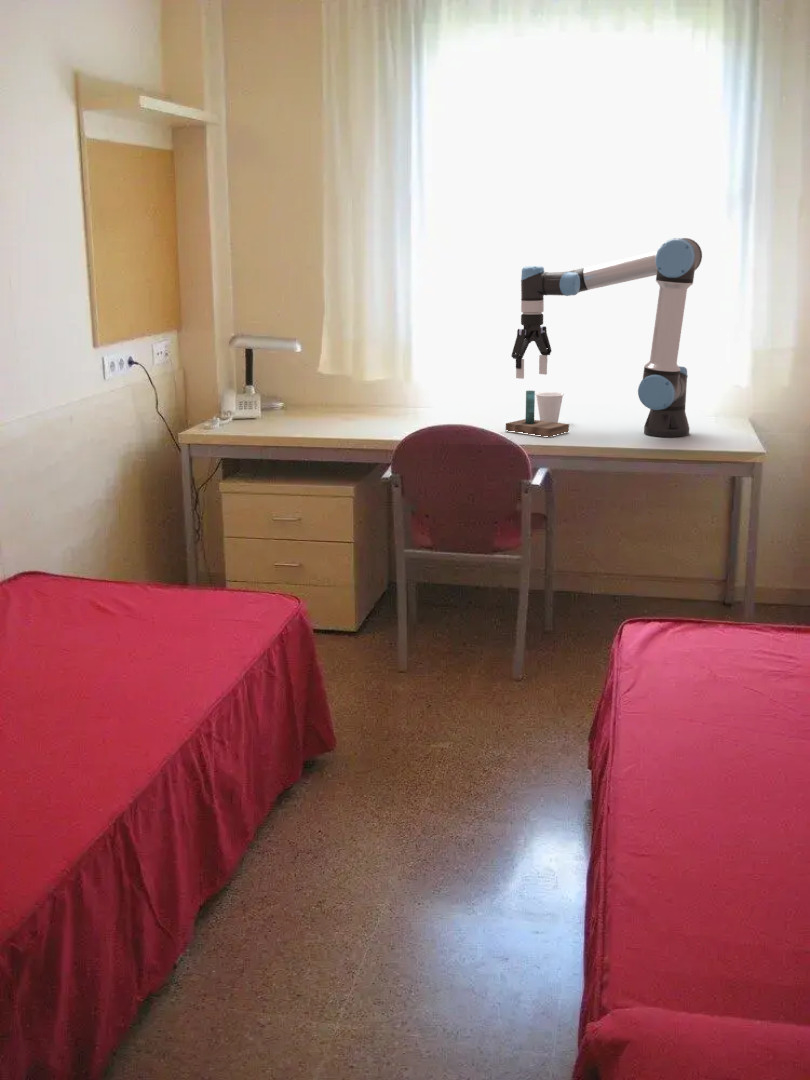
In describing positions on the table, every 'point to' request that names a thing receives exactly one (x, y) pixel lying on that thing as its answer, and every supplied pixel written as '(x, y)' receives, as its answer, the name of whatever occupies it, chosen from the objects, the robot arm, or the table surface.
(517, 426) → the hole plate
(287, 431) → the table surface
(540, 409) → the cup
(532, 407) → the peg
